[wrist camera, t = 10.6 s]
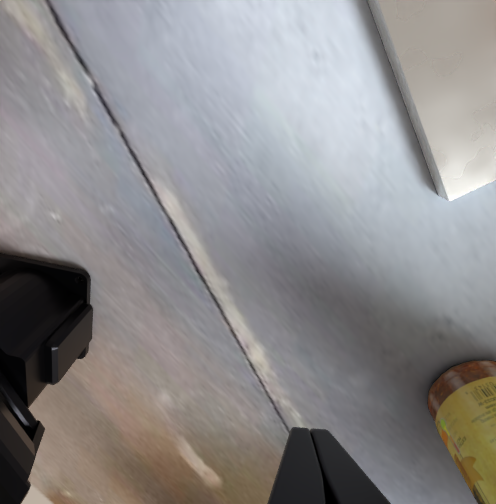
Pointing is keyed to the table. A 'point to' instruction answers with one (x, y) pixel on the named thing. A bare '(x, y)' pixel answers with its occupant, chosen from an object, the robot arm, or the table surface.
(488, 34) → the fader console
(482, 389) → the sauce bottle
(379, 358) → the table surface
